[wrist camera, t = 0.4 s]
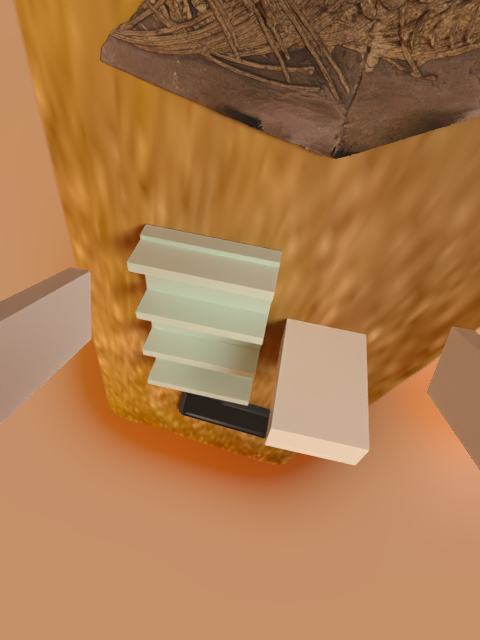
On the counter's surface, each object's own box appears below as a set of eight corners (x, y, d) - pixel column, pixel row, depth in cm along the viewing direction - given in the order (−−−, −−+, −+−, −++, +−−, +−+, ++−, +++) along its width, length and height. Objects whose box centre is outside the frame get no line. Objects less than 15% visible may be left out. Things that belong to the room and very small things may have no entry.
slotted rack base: (145, 224, 33) (125, 257, 30) (282, 251, 32) (275, 287, 29) (161, 355, 48) (148, 385, 45) (253, 375, 48) (247, 407, 45)
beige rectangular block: (287, 318, 38) (270, 428, 31) (366, 334, 38) (369, 450, 30) (281, 339, 41) (264, 444, 33) (354, 354, 41) (355, 465, 33)
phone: (271, 440, 59) (178, 413, 58) (272, 433, 60) (180, 407, 59) (287, 419, 53) (184, 389, 52) (288, 412, 54) (186, 382, 53)
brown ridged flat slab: (633, -60, 16) (645, -57, 16) (491, 176, 25) (495, 184, 24) (73, -109, 19) (62, -109, 18) (117, 122, 27) (111, 129, 26)
